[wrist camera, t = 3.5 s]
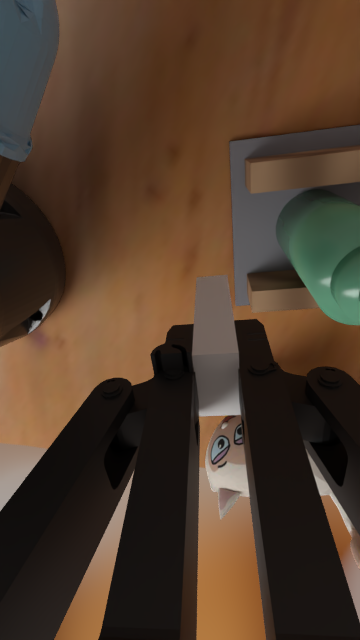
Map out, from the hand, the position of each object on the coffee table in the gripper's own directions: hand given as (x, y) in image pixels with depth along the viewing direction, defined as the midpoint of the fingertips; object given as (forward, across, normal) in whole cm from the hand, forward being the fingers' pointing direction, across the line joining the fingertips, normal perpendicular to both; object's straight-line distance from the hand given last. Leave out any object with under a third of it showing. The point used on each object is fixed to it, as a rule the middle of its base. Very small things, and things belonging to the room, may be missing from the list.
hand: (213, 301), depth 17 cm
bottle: (+11, +8, 0) cm, 14 cm away
